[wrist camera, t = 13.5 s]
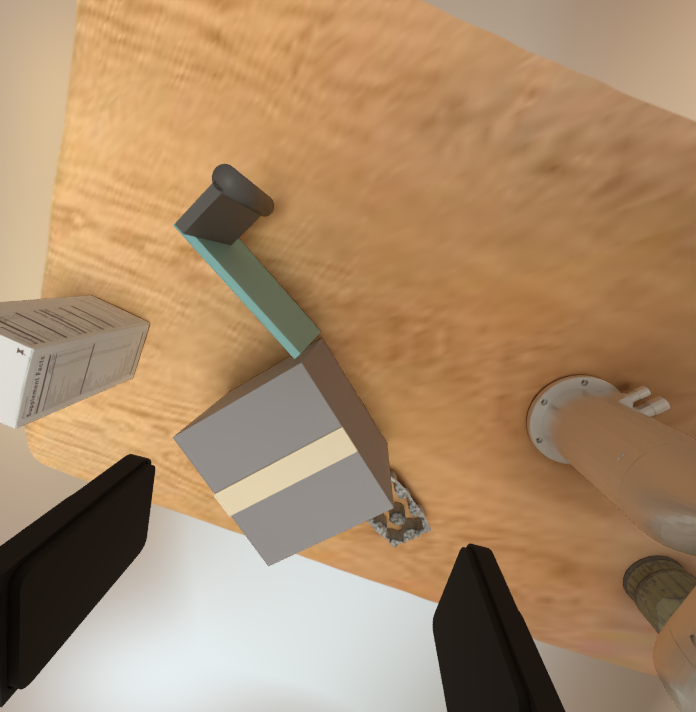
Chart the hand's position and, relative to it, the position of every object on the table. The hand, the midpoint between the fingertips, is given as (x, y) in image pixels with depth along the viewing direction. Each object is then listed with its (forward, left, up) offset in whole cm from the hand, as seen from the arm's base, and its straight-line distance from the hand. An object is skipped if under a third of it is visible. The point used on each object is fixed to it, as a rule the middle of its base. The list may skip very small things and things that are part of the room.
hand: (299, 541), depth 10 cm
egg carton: (+8, +24, -37) cm, 45 cm away
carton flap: (+2, -11, -36) cm, 38 cm away
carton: (+12, +7, -36) cm, 39 cm away
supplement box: (+30, -17, -36) cm, 50 cm away
